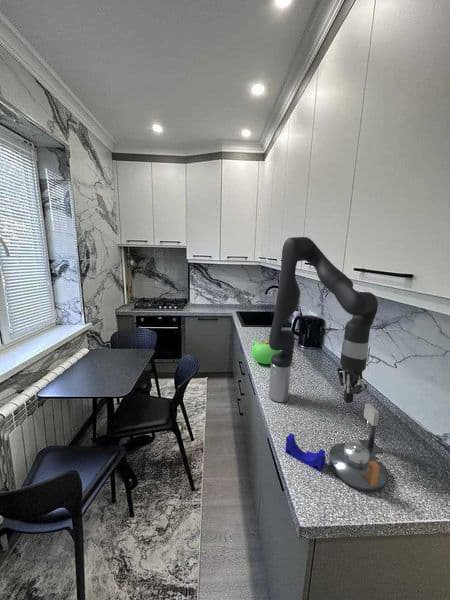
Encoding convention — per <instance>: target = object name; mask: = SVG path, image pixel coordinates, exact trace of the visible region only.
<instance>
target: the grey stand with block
mask: <svg viewBox="0 0 450 600" xmlns="http://www.w3.org/2000/svg"><path fill="white" fill-rule="evenodd" d="M363 411H364V412H363V418H365V419H366V421H367V422H366V428H365V429H366V430H365V435H368V433H369V437H368V439H358V443H359V444H361V445H363V446H364V447H365V448H366V449H367V450H368V451H370V452H371V453H372V454H383V453H384V451H383V450H382V449H381V448H380V447H379V445H377V443H375V438H376V433H377V432H376V431H377V426H378V423H379V417H380V411H379V410H378V409H376V408H375V407H374V406H373V405H372V404H371V403H365V404H364V410H363ZM369 426H370V430H369Z"/></svg>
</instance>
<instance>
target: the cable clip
mask: <svg viewBox="0 0 450 600" xmlns="http://www.w3.org/2000/svg"><path fill="white" fill-rule="evenodd" d="M285 438H286V439H285V450H284V452H285V454H287V455H289V456H291V457H292V458H294V459H296V460H298V461H299V462H301V463H303V464H305V465H306V466H308V467H310V468H312V469H314V470H315V469H316V467H317V471H316V472H319V473H320V472H321V471H322V470H323V468H324V466H325V465H326V460H327V458H326V457H327V456H326V451H325V450H323V449H322V448H320V449H319V451H317V452H311V451H309V450H308V451H306V452H304V451H303V450H302V449H301V448H300V447H299V446H298V444H297V442H296V438H295V434H294V433H291V432H290V433H289V434H288V435H287V437H285Z"/></svg>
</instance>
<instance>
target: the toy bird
mask: <svg viewBox="0 0 450 600" xmlns="http://www.w3.org/2000/svg"><path fill="white" fill-rule="evenodd" d="M251 342H252V344H254V345H253V346H252V348H251V357H252V358H253V360H254V361H255V362H257V363H260V364H263V365H271V358H272V356H273V355H275V354H277V353H279V352H280V351H281V350H272V349H271V348H270V346H269V340H260V341H259V340H255V339H251Z"/></svg>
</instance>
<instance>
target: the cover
mask: <svg viewBox="0 0 450 600" xmlns="http://www.w3.org/2000/svg"><path fill="white" fill-rule="evenodd" d="M344 443H345V446H344V453H343V459H344V461H345V462H346V463H347V464H348V465H349V466H350V467H352V468H354V469H357V470H365V469H367V467H368V462H369V455H370V454H369V451H368V450H367V449H366V448H365V447H364V446H363V445H362V444H361V443H360V442H357V441H347V442H344Z"/></svg>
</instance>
